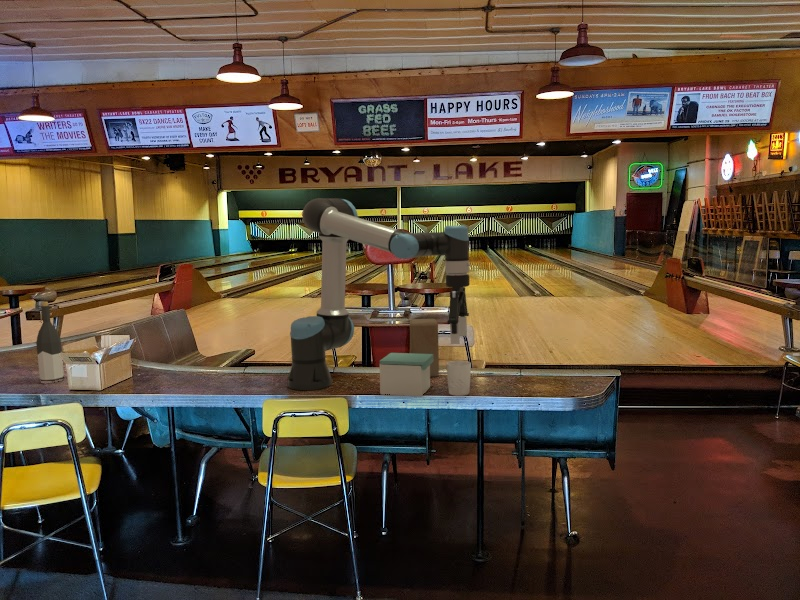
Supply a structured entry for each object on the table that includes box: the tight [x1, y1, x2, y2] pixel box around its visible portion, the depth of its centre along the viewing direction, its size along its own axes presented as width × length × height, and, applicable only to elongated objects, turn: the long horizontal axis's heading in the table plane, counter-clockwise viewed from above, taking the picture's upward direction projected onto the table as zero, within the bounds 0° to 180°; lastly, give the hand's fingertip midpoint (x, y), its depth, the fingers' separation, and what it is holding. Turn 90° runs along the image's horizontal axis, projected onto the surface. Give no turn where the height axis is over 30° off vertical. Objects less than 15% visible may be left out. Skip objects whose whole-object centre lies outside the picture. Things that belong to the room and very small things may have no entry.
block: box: [409, 318, 440, 378], centre depth 231 cm, size 10×10×20 cm
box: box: [379, 363, 431, 397], centre depth 210 cm, size 14×12×10 cm
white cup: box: [446, 360, 472, 397], centre depth 205 cm, size 8×8×10 cm
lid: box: [379, 352, 433, 370], centre depth 210 cm, size 15×13×2 cm
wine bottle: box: [35, 301, 65, 381], centre depth 235 cm, size 8×8×30 cm
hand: (459, 339), depth 204 cm, fingers open, 13 cm apart
